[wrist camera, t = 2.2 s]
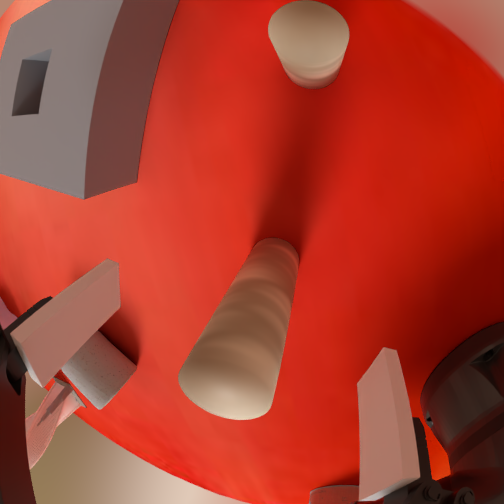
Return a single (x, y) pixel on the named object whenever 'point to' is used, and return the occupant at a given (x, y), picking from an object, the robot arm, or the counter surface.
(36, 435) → the skyscraper
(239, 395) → the long pin
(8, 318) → the clip
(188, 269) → the counter surface
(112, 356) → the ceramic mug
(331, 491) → the canned food
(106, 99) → the hole block
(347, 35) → the short pin
